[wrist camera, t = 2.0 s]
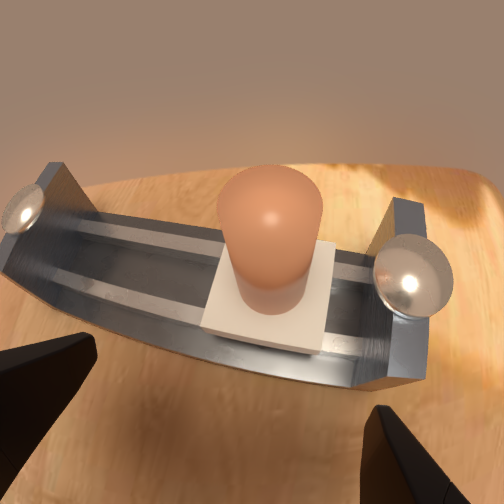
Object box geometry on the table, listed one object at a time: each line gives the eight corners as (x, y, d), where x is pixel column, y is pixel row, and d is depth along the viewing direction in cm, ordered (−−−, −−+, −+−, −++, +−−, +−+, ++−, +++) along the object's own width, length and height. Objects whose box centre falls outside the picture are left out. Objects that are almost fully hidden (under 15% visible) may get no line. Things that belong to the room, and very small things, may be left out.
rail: (396, 269, 23) (443, 201, 15) (386, 393, 18) (452, 378, 10) (82, 217, 28) (38, 158, 20) (42, 303, 24) (-21, 259, 16)
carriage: (332, 254, 20) (362, 154, 12) (317, 355, 17) (355, 306, 9) (233, 238, 22) (210, 135, 14) (205, 332, 18) (151, 267, 10)
